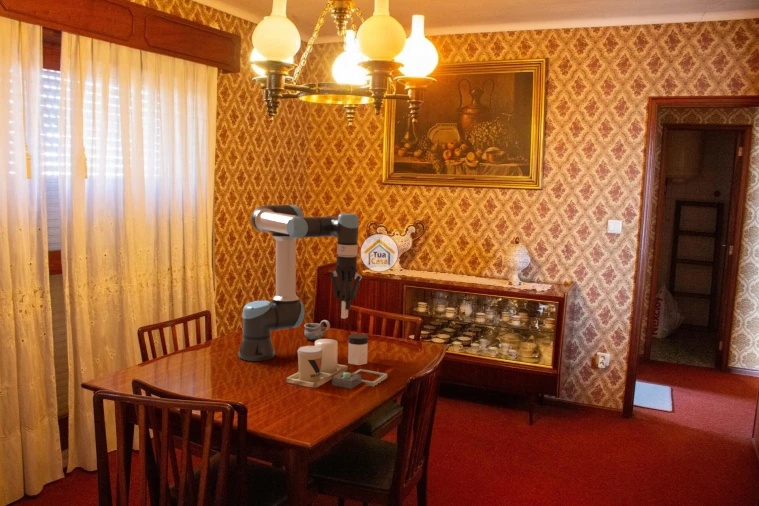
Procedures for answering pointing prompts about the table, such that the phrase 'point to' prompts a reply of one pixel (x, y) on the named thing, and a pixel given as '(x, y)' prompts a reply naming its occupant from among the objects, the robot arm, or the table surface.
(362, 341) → the jar
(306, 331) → the mug
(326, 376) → the tray
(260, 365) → the table surface
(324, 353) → the billet
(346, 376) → the button
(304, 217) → the robot arm
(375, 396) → the table surface
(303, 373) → the coffee cup
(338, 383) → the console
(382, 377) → the beige square frame
